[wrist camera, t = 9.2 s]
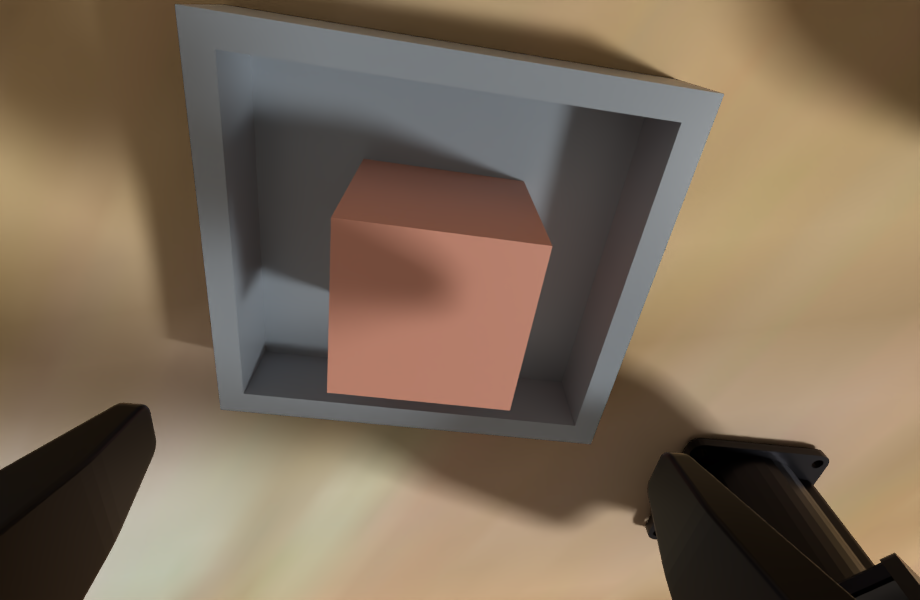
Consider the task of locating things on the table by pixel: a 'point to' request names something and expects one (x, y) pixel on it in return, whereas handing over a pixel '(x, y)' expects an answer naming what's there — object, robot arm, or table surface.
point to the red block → (433, 285)
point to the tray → (432, 146)
